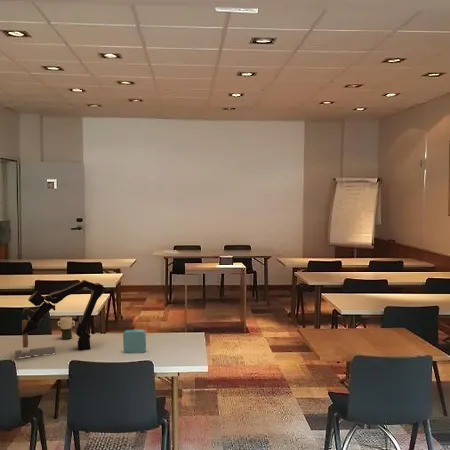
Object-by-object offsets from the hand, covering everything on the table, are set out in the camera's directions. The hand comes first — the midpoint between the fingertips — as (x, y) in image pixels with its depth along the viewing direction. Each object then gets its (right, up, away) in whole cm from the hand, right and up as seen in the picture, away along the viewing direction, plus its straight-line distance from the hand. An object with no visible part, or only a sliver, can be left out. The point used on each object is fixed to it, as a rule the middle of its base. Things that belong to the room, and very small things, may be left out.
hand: (22, 332), depth 301 cm
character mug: (+14, -11, +38) cm, 42 cm away
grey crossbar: (+7, -13, +1) cm, 15 cm away
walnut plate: (+1, -8, +1) cm, 8 cm away
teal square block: (+62, -12, +5) cm, 63 cm away
